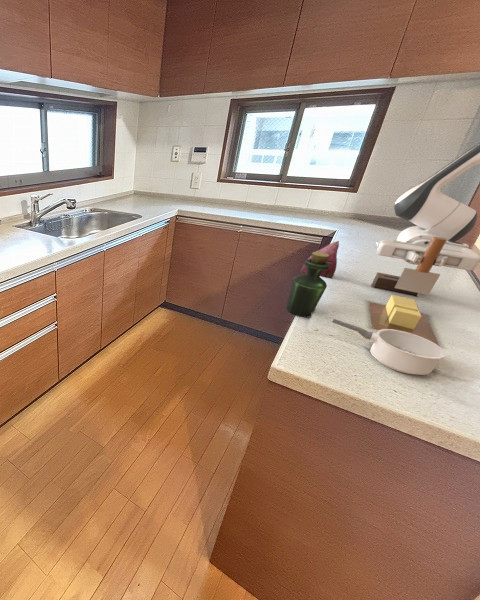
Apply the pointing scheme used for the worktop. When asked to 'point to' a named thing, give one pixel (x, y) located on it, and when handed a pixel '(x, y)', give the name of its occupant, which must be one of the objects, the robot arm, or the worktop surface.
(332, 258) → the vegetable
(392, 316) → the butter slice
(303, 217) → the worktop surface
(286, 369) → the worktop surface
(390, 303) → the butter block
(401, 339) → the saucepan
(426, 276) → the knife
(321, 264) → the potion bottle
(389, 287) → the dark brown rectangular block
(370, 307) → the cutting board
